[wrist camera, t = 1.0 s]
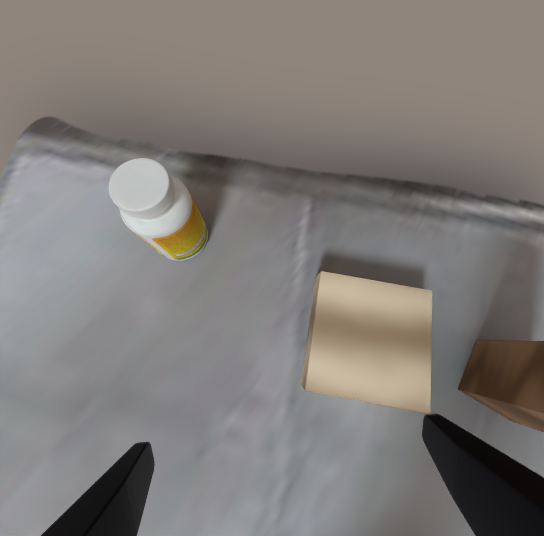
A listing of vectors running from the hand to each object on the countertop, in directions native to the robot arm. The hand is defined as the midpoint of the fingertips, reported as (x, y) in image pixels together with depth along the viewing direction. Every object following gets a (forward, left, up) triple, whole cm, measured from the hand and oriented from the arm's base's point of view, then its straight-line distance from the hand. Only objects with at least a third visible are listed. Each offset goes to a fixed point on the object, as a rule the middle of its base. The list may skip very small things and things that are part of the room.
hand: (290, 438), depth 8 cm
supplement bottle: (+12, +10, -16) cm, 22 cm away
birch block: (+3, -8, -16) cm, 18 cm away
